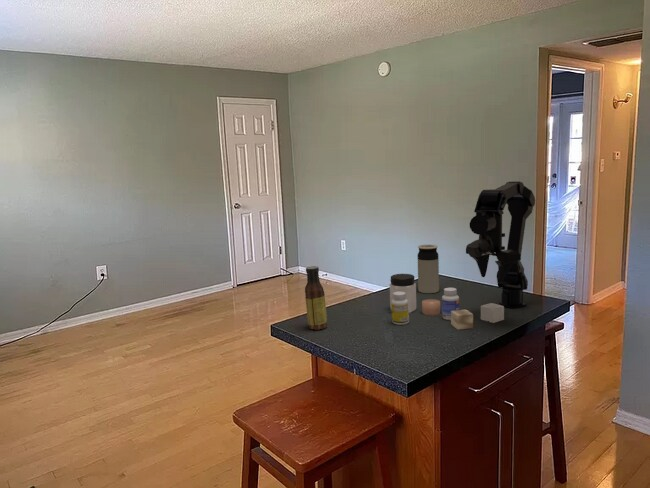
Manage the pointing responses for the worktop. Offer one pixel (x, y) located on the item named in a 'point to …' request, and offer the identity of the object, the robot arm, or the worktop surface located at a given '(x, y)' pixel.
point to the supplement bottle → (400, 308)
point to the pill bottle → (449, 302)
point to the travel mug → (428, 269)
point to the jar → (404, 289)
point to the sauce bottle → (315, 300)
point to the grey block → (492, 312)
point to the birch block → (462, 319)
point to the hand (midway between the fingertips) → (492, 279)
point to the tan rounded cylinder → (431, 307)
